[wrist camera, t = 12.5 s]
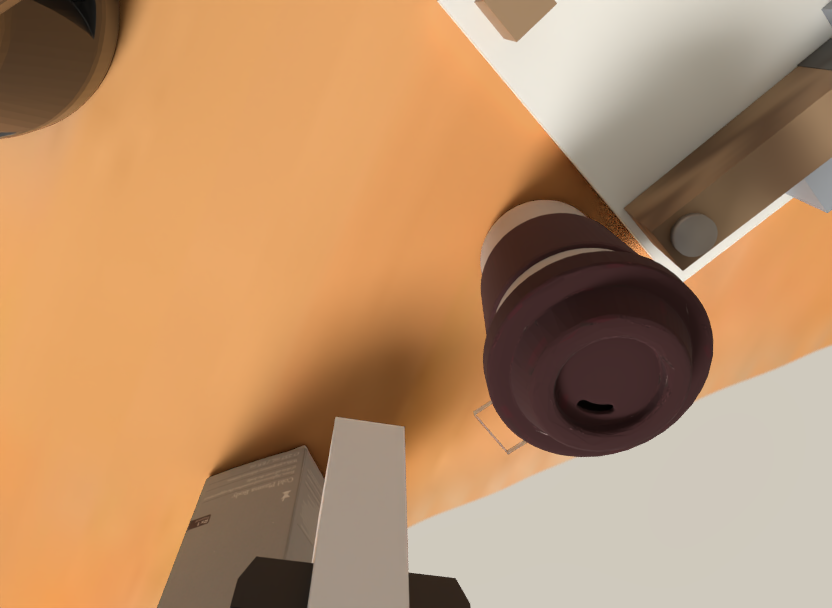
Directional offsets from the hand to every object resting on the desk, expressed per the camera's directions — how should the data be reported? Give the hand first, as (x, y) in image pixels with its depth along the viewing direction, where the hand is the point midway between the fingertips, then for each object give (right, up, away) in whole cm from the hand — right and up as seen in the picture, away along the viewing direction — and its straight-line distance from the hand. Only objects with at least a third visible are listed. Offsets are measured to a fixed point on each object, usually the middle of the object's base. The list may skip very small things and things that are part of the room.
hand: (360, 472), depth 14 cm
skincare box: (-9, -10, +33) cm, 36 cm away
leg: (+19, +13, +23) cm, 32 cm away
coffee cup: (+9, +7, +26) cm, 29 cm away
